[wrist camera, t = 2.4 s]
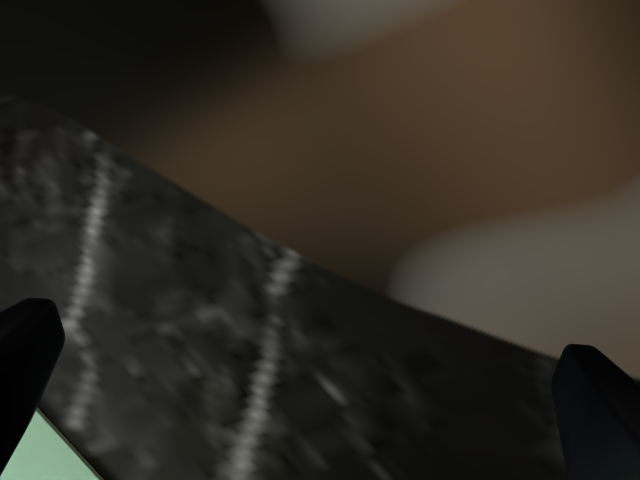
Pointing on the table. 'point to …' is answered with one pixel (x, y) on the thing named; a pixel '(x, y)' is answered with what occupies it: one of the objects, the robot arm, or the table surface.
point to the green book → (46, 455)
